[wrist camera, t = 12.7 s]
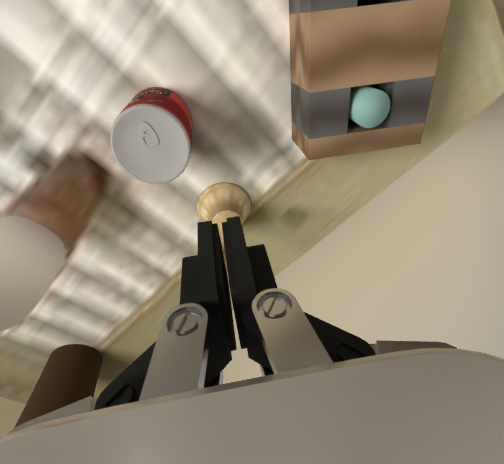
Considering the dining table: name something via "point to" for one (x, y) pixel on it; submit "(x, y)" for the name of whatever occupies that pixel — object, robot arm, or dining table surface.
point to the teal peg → (368, 106)
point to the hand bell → (223, 205)
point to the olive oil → (63, 381)
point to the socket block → (362, 70)
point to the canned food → (153, 136)
